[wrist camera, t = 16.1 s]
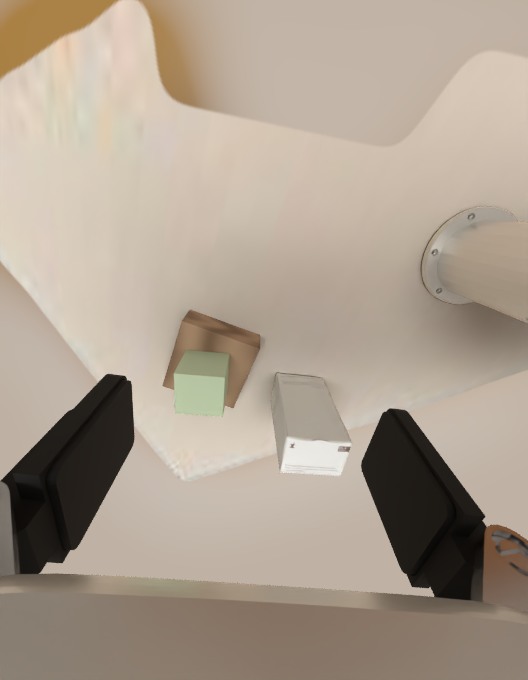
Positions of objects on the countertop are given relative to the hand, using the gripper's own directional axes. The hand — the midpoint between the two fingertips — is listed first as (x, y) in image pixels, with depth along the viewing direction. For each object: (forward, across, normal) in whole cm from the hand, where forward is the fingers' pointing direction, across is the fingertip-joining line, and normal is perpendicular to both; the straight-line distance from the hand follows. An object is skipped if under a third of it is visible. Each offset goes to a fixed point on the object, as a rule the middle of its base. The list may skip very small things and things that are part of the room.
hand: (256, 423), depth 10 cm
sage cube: (+26, +5, +14) cm, 30 cm away
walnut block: (+31, +5, +14) cm, 34 cm away
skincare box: (+31, -9, +18) cm, 37 cm away
